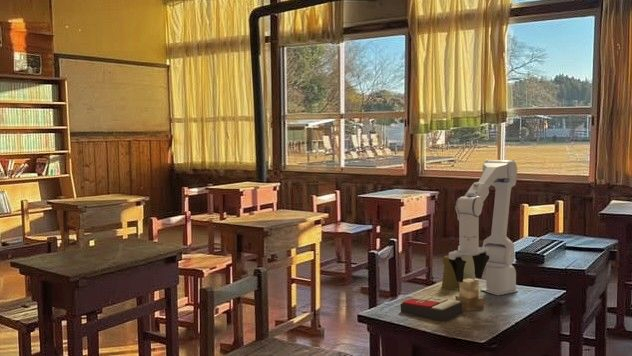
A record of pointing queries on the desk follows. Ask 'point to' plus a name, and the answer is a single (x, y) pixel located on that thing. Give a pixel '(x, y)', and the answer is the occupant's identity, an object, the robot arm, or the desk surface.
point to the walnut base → (471, 303)
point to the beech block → (469, 288)
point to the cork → (449, 275)
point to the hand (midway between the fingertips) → (469, 279)
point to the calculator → (432, 307)
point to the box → (468, 268)
